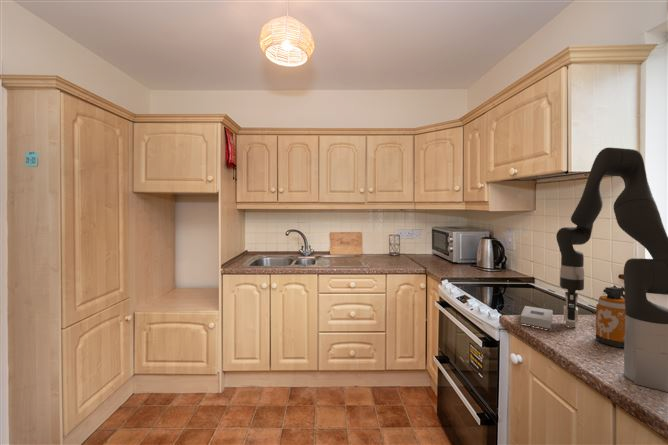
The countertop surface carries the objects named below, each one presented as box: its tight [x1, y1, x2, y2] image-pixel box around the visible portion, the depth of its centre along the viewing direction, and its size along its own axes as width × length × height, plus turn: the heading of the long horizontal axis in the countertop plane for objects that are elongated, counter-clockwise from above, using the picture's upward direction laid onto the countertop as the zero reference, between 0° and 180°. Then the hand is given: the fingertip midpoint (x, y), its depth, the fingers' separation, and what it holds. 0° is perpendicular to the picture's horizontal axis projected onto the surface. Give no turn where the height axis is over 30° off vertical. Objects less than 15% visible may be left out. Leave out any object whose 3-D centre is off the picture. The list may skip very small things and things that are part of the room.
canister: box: [595, 285, 625, 348], centre depth 104 cm, size 9×11×20 cm
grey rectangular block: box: [520, 305, 554, 331], centre depth 124 cm, size 16×10×4 cm, turn 142°
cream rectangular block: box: [563, 305, 579, 328], centre depth 119 cm, size 4×4×8 cm
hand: (571, 316), depth 119 cm, fingers open, 8 cm apart
